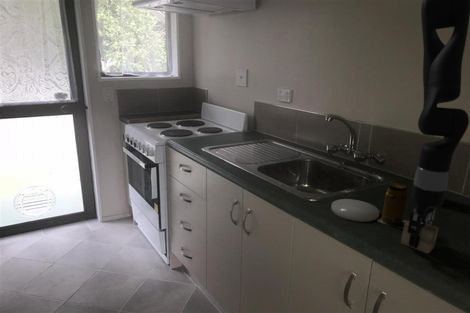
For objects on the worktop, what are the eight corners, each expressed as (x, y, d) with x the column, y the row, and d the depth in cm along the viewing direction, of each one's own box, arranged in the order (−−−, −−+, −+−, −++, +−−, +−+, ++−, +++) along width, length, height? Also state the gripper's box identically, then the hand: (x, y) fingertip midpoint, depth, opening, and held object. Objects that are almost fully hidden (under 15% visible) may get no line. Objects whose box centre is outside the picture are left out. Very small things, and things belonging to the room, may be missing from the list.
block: (407, 237, 98) (411, 218, 96) (434, 247, 93) (438, 227, 92) (400, 243, 95) (404, 223, 93) (428, 254, 90) (432, 233, 88)
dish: (345, 198, 124) (345, 195, 124) (386, 212, 114) (387, 209, 113) (322, 210, 114) (322, 206, 113) (365, 226, 103) (366, 222, 103)
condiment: (385, 214, 112) (391, 180, 109) (412, 223, 107) (419, 187, 104) (376, 221, 107) (382, 185, 104) (404, 231, 102) (412, 193, 98)
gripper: (423, 175, 97) (413, 228, 101) (404, 186, 87) (393, 245, 91) (454, 182, 91) (441, 238, 96) (436, 195, 82) (423, 257, 86)
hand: (418, 241), depth 94 cm, fingers open, 7 cm apart
